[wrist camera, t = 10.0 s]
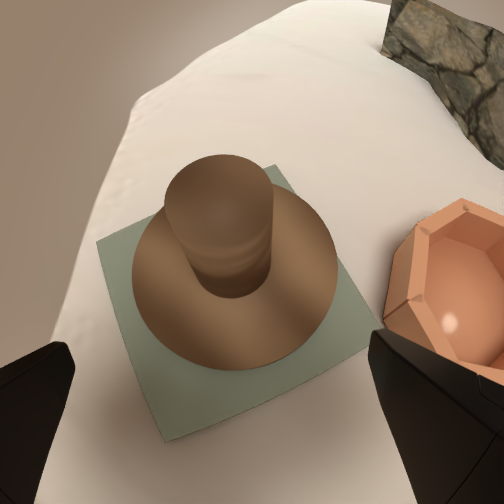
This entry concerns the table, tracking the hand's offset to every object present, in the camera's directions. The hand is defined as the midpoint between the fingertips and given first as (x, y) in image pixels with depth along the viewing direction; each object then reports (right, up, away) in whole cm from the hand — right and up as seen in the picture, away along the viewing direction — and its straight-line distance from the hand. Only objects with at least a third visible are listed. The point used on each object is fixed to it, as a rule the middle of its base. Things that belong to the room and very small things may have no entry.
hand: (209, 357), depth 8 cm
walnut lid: (0, +2, +13) cm, 13 cm away
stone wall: (+32, +19, +21) cm, 42 cm away
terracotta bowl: (+16, -1, +11) cm, 20 cm away
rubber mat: (0, 0, +13) cm, 13 cm away
